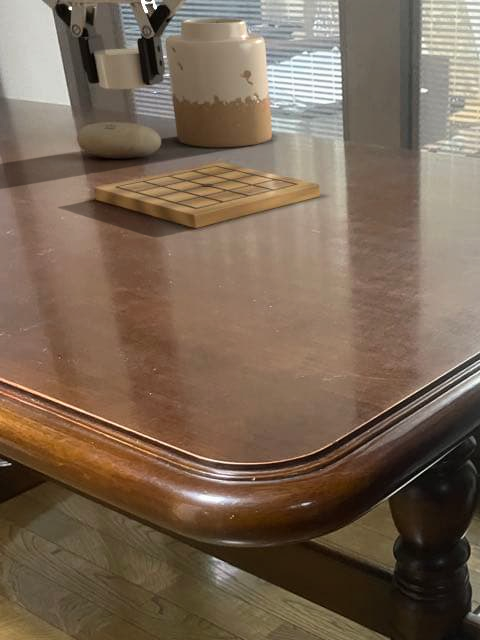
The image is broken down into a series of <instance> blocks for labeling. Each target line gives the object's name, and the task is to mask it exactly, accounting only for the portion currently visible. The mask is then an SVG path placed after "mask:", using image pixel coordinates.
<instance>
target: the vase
mask: <svg viewBox="0 0 480 640" xmlns="http://www.w3.org/2000/svg"><path fill="white" fill-rule="evenodd" d="M247 28H248V27H247V23H246V20H244V19H240V18H226V17H225V18H222V17H221V18H219V17H218V18H215V17H213V18H191V19H184V20H181V21H180V32H181V33H180V34H176V35H170V36H167V37H166V38H165V41H164V44H165V54H166V61H167V69H168V75H169V84H170V91H171V99H172V106H173V114H174V120H175V128H176V134H177V139H178V141H179V142H180V143H182V144H184V145H188V146H193V147H201V148H239V147H247V146H253V145H254V146H255V145H259V144H262V143H263V144H264V143H266V142H268V141H269V140H271V139H272V136H273V130H272V115H271V114H272V113H271V102H270V101H271V100H270V89H269V87H270V86H269V77H268V62H267V51H266V49H267V48H266V41H265V38H264V37H263V36H262V35H259V34H254V33H248V29H247Z"/></svg>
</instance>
